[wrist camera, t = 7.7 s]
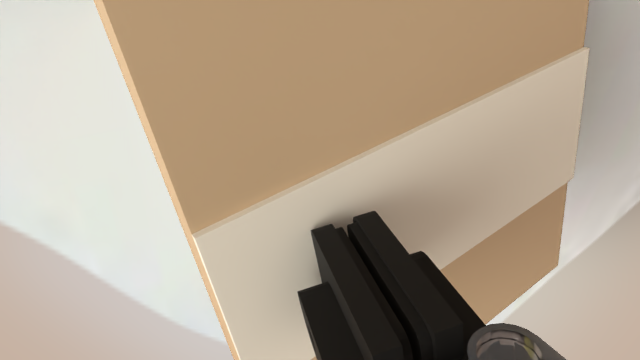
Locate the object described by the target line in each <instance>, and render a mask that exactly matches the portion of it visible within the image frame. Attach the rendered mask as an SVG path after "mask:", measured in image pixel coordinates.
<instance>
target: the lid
mask: <svg viewBox="0 0 640 360" xmlns="http://www.w3.org/2000/svg"><path fill="white" fill-rule="evenodd" d="M94 2H95V5H96V8H97V10H98V13H99V15H100V18H101V20H102V23H103V25H104V28H105V31H106V33H107V36H108V38H109V41H110V43H111V46H112V49H113V51H114V54H115V56H116V59H117V61H118V64H119V66H120V69H121V72H122V74H123V77H124V79H125V82H126V84H127V87H128V89H129V92H130V95H131V97H132V100H133V102H134V105H135V107H136V110H137V113H138V115H139V118H140V120H141V123H142V125H143V128H144V130H145V133H146V136H147V138H148V141H149V143H150V146H151V148H152V151H153V153H154V156H155V159H156V161H157V164H158V166H159V169H160V171H161V174H162V177H163V179H164V182H165V184H166V187H167V189H168V192H169V194H170V197H171V200H172V202H173V205H174V207H175V210H176V212H177V215H178V217H179V220H180V223H181V225H182V228H183V230H184V233H185V235H186V238H187V241H188V243H189V246H190V248H191V251H192V253H193V256H194V258H195V261H196V264H197V266H198V269H199V271H200V274H201V276H202V279H203V281H204V284H205V287H206V289H207V292H208V294H209V297H210V299H211V302H212V305H213V307H214V310H215V312H216V315H217V317H218V320H219V322H220V325H221V328H222V330H223V333H224V335H225V338H226V340H227V343H228V345H229V348H230V351H231V353H232V356H233V358H234V360H317V358H316V355H315V352H314V349H313V346H312V343H311V340H310V337H309V333H308V330H307V327H306V323H305V320H304V316H303V313H302V309H301V305H300V301H299V297H298V293H297V291H300V290H303V289H306V288H309V287H312V286H315V285H318V284H322V281H321V276H320V272H319V267H318V263H317V258H316V254H315V249H314V245H313V240H312V236H311V230H313V229H316V228H319V227H323V226H326V225H329V224H333V226H334V227H335V229H336V228H339V227H342V228H343V229H344V231H345V232H346V234H347V236H348V231H347V225H349V224H352V223H353V217H355V216H358V215H361V214H365V213H368V212H371V211H376V212H377V213H378V215H379V216H380V217H381V218H382V220H383V221H384V222H385V224H386V225H387V226H388V227H389V229H390V230H391V231H392V233H393V234H394V235H395V236H396V238H397V239H398V240H399V242H400V243H401V244H402V245H403V247H404V248H405V249H406V251H407V252H408V253H409V254H412V253H415V252H418V251H422V252H424V253H425V254H426V255H427V256H428V257H429V258H430V259H431V260H432V262H433V263H434V264H435V265H436V266H437V268H438V269H439V270H440V271H441V272H442V274H443V275H444V276H445V277H446V278H447V280H448V281H449V282H450V283H451V284H452V285H453V287H454V288H455V289H456V290H457V291H458V293H459V294H460V295H461V296H462V297H463V299H464V300H465V301H466V302H467V303H468V305H469V306H470V307H471V308H472V309H473V311H474V312H475V313H476V314H477V315H478V317H479V318H480V319H481V320H482V321H483V322H484V324H487V323H488V322H489V321H490V320H492V319H493V318H494V317H495V316H496V315H498V314H499V313H500V312H501V311H503V310H504V309H505V308H506V307H507V306H509V305H510V304H511V303H512V302H514V301H515V300H516V299H517V298H518V297H520V296H521V295H522V294H523V293H525V292H526V291H527V290H528V289H529V288H531V287H532V286H533V285H534V284H536V283H537V282H538V281H539V280H540V279H542V278H543V277H544V276H545V275H547V274H548V273H549V272H550V271H551V270H553V269H554V268H555V267H556V266H558V259H559V251H560V242H561V234H562V225H563V217H564V208H565V200H566V191H567V183H568V181H570V180H571V179H573V177H574V169H575V161H576V153H577V145H578V137H579V129H580V121H581V113H582V105H583V97H584V89H585V81H586V73H587V65H588V57H589V49H590V48H587V47H584V39H585V30H586V22H587V13H588V5H589V0H94Z"/></svg>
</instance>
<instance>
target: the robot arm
mask: <svg viewBox="0 0 640 360" xmlns="http://www.w3.org/2000/svg"><path fill="white" fill-rule="evenodd" d="M347 231H348V236H347V234H346V232H345V231H344V229H343V228H342V227H339V228H336V229H335V227H334V226H333V224H329V225H326V226H323V227H319V228H316V229H313V230H311V236H312V240H313V245H314V249H315V254H316V258H317V263H318V267H319V272H320V276H321V281H322V284H318V285H315V286H312V287H309V288H306V289H303V290H300V291H297V293H298V297H299V301H300V305H301V309H302V313H303V316H304V320H305V323H306V327H307V330H308V333H309V337H310V340H311V343H312V346H313V349H314V352H315V355H316V358H317V360H566V359H565V358H564V357H563V356H561V355H560V354H559V353H558V352H556V351H555V350H554V349H553V348H552V347H550V346H549V345H548V344H547V343H546V342H544V341H543V340H542V339H541V338H539V337H538V336H537V335H535V334H534V333H532V332H530V331H529V330H527V329H525V328H522V327H519V326H516V325H511V324H505V323H499V324H490V325H487V326H486V325H485V324H484V322H483V321H482V320H481V319H480V318H479V317H478V315H477V314H476V313H475V312H474V311H473V309H472V308H471V307H470V306H469V305H468V303H467V302H466V301H465V300H464V299H463V297H462V296H461V295H460V294H459V293H458V291H457V290H456V289H455V288H454V287H453V285H452V284H451V283H450V282H449V281H448V280H447V278H446V277H445V276H444V275H443V274H442V272H441V271H440V270H439V269H438V268H437V266H436V265H435V264H434V263H433V262H432V260H431V259H430V258H429V257H428V256H427V255H426V254H425V253H424V252H422V251H418V252H415V253H412V254H409V253H408V252H407V251H406V249H405V248H404V247H403V245H402V244H401V243H400V242H399V240H398V239H397V238H396V236H395V235H394V234H393V233H392V231H391V230H390V229H389V227H388V226H387V225H386V224H385V222H384V221H383V220H382V218H381V217H380V216H379V215H378V213H377V212H376V211H371V212H368V213H365V214H361V215H358V216H355V217H353V223H352V224H349V225H347Z"/></svg>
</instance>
